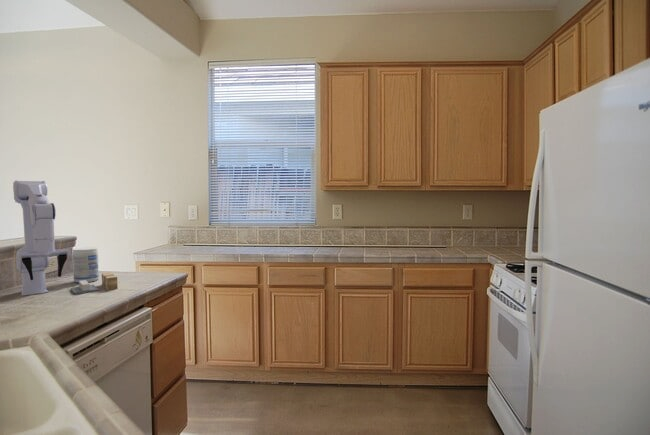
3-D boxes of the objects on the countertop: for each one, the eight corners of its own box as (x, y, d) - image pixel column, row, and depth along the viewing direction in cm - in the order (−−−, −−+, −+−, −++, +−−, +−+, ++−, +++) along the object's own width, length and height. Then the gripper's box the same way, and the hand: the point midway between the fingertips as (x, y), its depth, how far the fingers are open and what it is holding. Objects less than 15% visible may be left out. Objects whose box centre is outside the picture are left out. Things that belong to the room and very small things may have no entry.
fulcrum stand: (70, 289, 151) (70, 281, 151) (93, 286, 156) (93, 278, 156) (74, 294, 143) (74, 286, 143) (98, 290, 149) (98, 283, 148)
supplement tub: (94, 282, 163) (92, 249, 162) (69, 283, 161) (68, 250, 160) (102, 278, 172) (100, 246, 171) (79, 279, 170) (77, 247, 169)
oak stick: (102, 285, 159) (101, 273, 159) (111, 283, 161) (110, 272, 161) (108, 290, 150) (107, 278, 150) (117, 289, 152) (117, 277, 152)
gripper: (16, 241, 119) (18, 283, 120) (71, 238, 128) (72, 276, 129) (16, 239, 124) (18, 279, 125) (68, 236, 134) (70, 273, 134)
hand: (45, 277), depth 127 cm, fingers open, 7 cm apart
